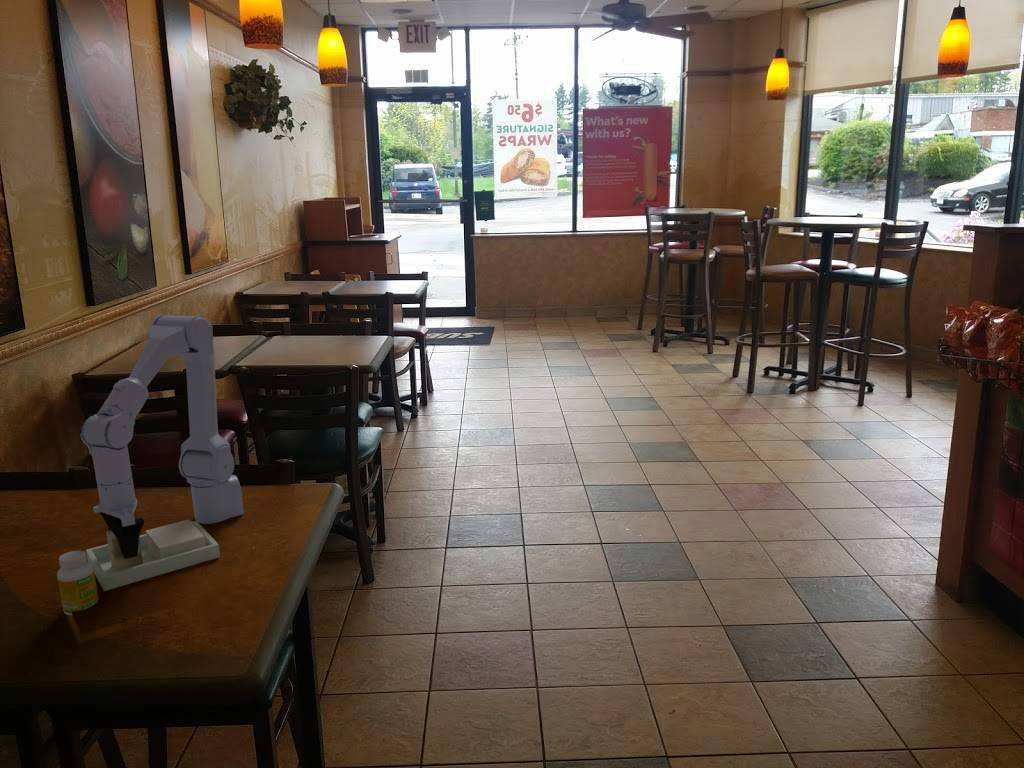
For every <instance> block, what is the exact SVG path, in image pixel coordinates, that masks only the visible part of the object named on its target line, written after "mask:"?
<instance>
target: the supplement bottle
mask: <svg viewBox="0 0 1024 768" xmlns="http://www.w3.org/2000/svg"><path fill="white" fill-rule="evenodd" d="M58 561H59V562H58V563H59V566H60V569H59V570H58V571H57V573H56V577H57V583H58V589H59V593H60V600H61V604H62V605H61V606H62V611H63V613H64V614H65V615H67V616H70V617H71V616H72V617H73V613H72V612H81V611H83V610H88V609H89V608H91V607H93V606H94V605H97V603H98V602H99V593H98V587H97V582H96V581H97V580H96V575H95V574H94V569H93V566H92V565H91V564H90V563H88V558H87V553H86V551H83V550H73V551H69V552H66V553H64V554H62V555H60V556H59V557H58Z"/></svg>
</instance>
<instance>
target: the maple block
mask: <svg viewBox="0 0 1024 768" xmlns="http://www.w3.org/2000/svg"><path fill="white" fill-rule="evenodd" d="M105 533H106V538H107V539H106V540H107V544H108V546H109V552H110V558H111V564H112V567H113V569H114V571H115V572H117V571H120V570H124V569H127V568H131V567H134V566H138V565H141V564H143V558H142V552H141V545H140V539H139V545H138V554H137V556H135V557H132V558H128V559H125V558H124V556H123V554H122V552H121V549H120V546H119V543H118V541H117V539H116V537H115V535H114V533H113V532H112V531H111V530H109V529H108V530H106V531H105Z"/></svg>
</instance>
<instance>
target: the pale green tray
mask: <svg viewBox="0 0 1024 768" xmlns="http://www.w3.org/2000/svg"><path fill="white" fill-rule="evenodd" d="M191 522H192V523H193V524H194V525H195V527H196V528H197V529H198V530H199V531H200V532H201V533H202V534H203V535H204V536H205V543H206V546H205V547H202V548H198V549H195V550H191V551H187V552H184V553H180V554H177V555H173V556H170V557H166V558H163V559H159V560H156V559H155V558H154V556H153V555H152V554H151V552H150V551H149V549H148V542H147V536H146V533H145V534H142V535H141V534H140V536H139V539H140V545H141V552H142V558H143V564H141V565H138V566H134V567H131V568H127V569H124V570H120V571H117V572H115V571H114V569H113V567H112V564H111V558H110V552H109V546H108V543H107V544H102V545H98V546H95V547H91V548H88V549H85V553H86V557H87V562H88V563H90V564H91V565H92V566H93V569H94V575H95V578H96V579H97V580H98V583H99V584H100V586H101V588H102V589H103V591H104V592H107V591H110V590H112V589H116V588H119V587H123V586H127V585H129V584H133V583H137V582H139V581H143V580H146V579H150V578H153V577H157V576H160V575H163V574H166V573H167V574H168V573H171V572H174V571H177V570H180V569H181V570H182V569H184V568H188V567H191V566H195V565H197V564H200V563H201V564H202V563H204V562H208V561H211V560H215V559H219V558H221V554H220V553H221V552H220V545H219V542H217V541H216V540H215V539H214V538H213V537H212V536H211V535H210V534H209V533H208V532H207V531H206V529H204V527H203V525H201V523H198V522H197V521H196V520H194V521H191Z"/></svg>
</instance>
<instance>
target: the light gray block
mask: <svg viewBox="0 0 1024 768" xmlns="http://www.w3.org/2000/svg"><path fill="white" fill-rule="evenodd" d="M192 522H193V521H191V520H190V519H185V520H182V521H178V522H174V523H173V522H172V523H170V524H166V525H162V526H158V527H154V528H151V529H145V534H146V536H147V542H148V549H149V551H150V552H151V554H152V555H153V556H154V558H155V559H156V560H159V559H163V558H166V557H170V556H173V555H177V554H180V553H184V552H187V551H191V550H195V549H198V548H202V547H205V546H206V543H205V536H204V535H203V534H202V533H201V532H200V531H199V530H198V529H197V528H196V527H195V525H194V524H193V523H192Z"/></svg>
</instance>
